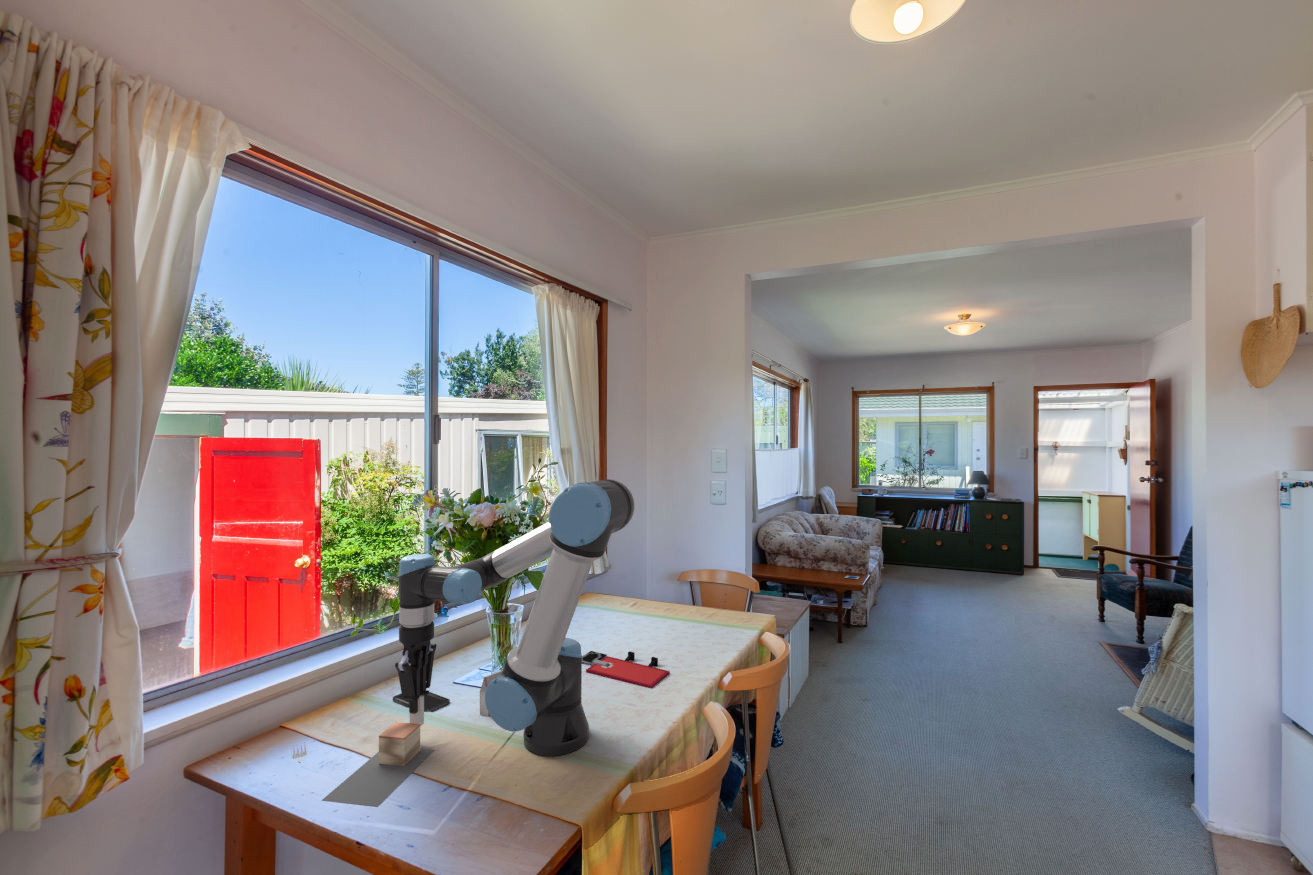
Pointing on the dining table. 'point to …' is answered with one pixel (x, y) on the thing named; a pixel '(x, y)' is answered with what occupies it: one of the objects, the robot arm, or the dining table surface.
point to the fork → (298, 753)
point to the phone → (425, 701)
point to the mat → (374, 781)
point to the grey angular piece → (485, 683)
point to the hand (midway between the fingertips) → (416, 724)
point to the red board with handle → (625, 669)
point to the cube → (399, 743)
